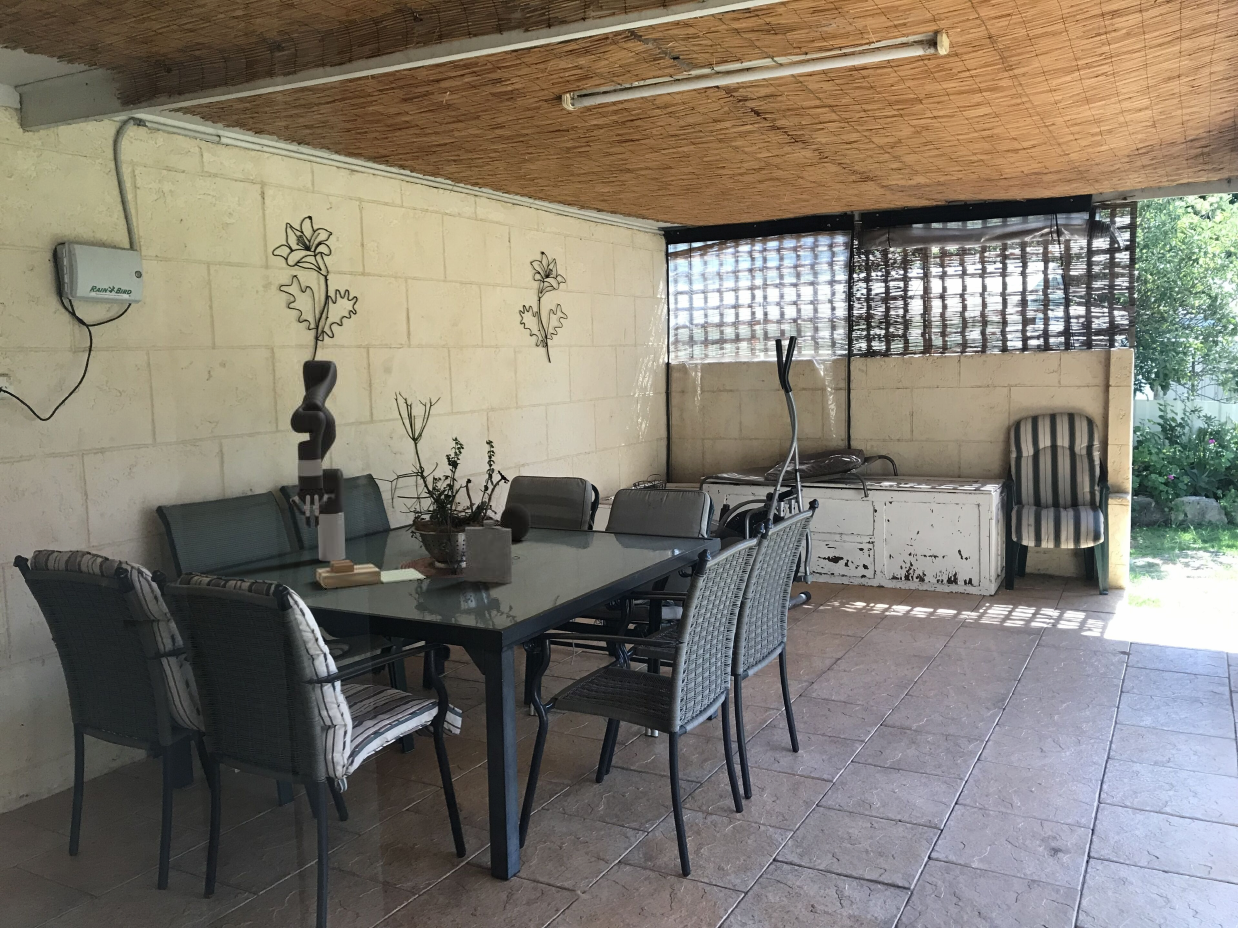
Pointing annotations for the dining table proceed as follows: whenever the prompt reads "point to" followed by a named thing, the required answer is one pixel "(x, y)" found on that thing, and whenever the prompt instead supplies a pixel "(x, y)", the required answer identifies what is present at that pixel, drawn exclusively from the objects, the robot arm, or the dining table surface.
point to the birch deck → (349, 576)
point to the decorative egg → (516, 521)
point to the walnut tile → (342, 566)
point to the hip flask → (488, 553)
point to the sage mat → (400, 575)
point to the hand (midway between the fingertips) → (312, 527)
